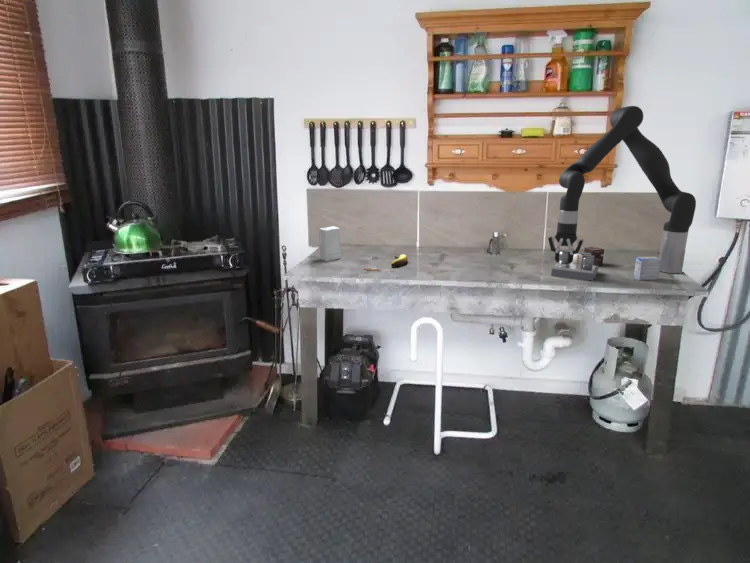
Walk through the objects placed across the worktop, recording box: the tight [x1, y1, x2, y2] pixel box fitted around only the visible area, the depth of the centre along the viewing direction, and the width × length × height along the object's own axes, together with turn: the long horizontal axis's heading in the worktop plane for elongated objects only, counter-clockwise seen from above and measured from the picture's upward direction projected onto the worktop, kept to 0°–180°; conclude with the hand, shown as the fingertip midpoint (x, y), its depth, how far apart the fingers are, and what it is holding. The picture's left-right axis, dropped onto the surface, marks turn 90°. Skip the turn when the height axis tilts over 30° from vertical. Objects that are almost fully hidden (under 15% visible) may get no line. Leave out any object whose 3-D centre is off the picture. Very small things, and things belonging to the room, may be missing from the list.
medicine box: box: [633, 256, 661, 281], centre depth 211 cm, size 8×4×9 cm, turn 92°
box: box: [583, 246, 605, 267], centre depth 233 cm, size 6×6×7 cm
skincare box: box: [318, 225, 342, 262], centre depth 243 cm, size 8×6×15 cm
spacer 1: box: [557, 249, 570, 264], centre depth 216 cm, size 4×4×5 cm
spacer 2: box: [581, 255, 594, 269], centre depth 212 cm, size 4×4×5 cm
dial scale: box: [550, 251, 599, 282], centre depth 217 cm, size 16×14×8 cm
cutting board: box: [363, 253, 428, 273], centre depth 238 cm, size 35×27×4 cm
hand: (563, 262), depth 217 cm, fingers closed on spacer 1, 4 cm apart
